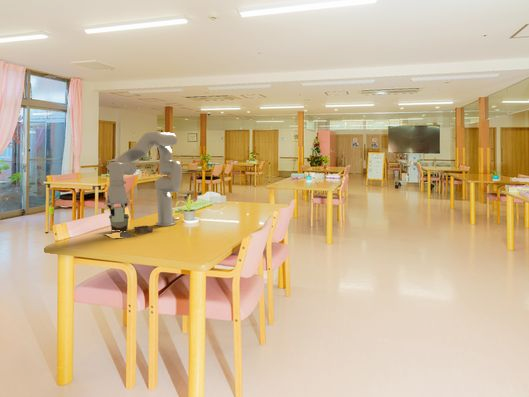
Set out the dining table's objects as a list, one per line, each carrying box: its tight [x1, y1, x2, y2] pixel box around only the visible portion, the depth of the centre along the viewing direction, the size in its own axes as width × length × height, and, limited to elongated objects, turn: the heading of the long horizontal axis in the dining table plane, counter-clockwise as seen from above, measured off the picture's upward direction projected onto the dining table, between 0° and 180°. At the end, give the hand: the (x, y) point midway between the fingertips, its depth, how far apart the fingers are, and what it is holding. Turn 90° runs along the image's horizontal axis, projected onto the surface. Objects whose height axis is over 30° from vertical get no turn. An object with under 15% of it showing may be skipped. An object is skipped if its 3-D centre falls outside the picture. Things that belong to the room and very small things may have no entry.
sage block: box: [112, 206, 125, 222], centre depth 225 cm, size 5×5×8 cm
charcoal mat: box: [120, 231, 136, 238], centre depth 227 cm, size 12×16×1 cm
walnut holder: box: [133, 225, 153, 235], centre depth 236 cm, size 8×8×3 cm
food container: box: [108, 213, 130, 232], centre depth 241 cm, size 12×6×10 cm, turn 84°
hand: (117, 215), depth 225 cm, fingers closed on sage block, 5 cm apart
